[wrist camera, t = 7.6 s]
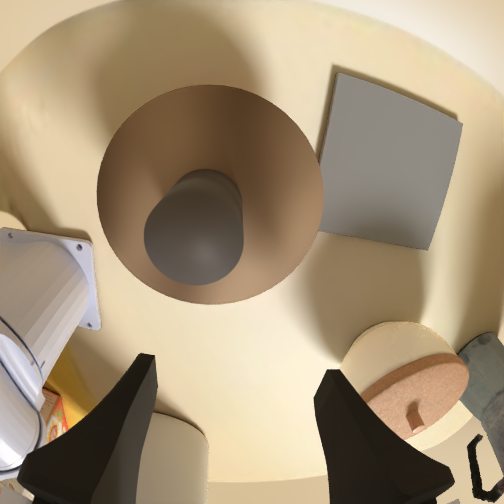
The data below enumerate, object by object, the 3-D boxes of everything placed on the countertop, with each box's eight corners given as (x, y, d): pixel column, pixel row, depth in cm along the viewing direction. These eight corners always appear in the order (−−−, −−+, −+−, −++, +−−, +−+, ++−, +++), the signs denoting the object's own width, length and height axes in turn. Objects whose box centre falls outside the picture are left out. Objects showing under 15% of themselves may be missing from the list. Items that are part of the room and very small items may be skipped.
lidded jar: (313, 323, 23) (344, 423, 14) (431, 281, 22) (495, 354, 13) (330, 397, 27) (351, 475, 19) (424, 362, 26) (462, 429, 18)
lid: (105, 279, 15) (69, 334, 11) (114, 80, 11) (59, 69, 7) (290, 307, 16) (306, 370, 12) (341, 112, 12) (389, 113, 8)
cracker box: (22, 374, 26) (-39, 509, 7) (63, 394, 27) (11, 542, 8) (39, 425, 31) (2, 529, 12) (72, 440, 32) (42, 550, 13)
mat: (303, 225, 19) (305, 228, 19) (336, 73, 15) (338, 72, 15) (424, 247, 20) (427, 250, 20) (458, 123, 16) (462, 123, 16)
